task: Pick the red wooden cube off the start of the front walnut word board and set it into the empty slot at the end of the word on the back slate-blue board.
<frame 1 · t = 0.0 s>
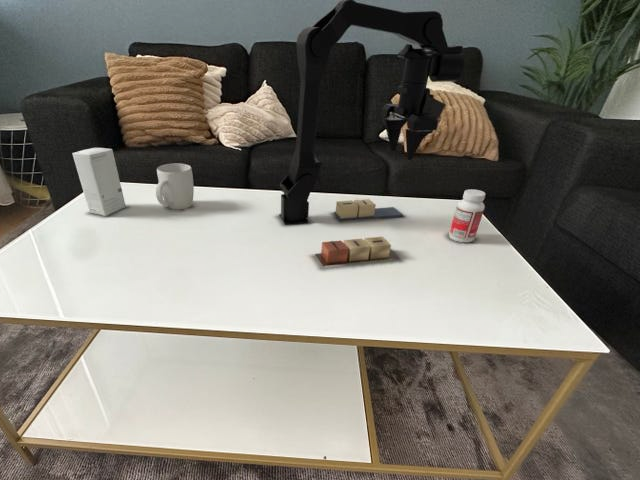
hand: (401, 155, 104), 15 cm above the table, tool pointing down, fingers open, 9 cm apart
far word: (367, 215, 111), on the table
pill bottle: (460, 238, 101), on the table
red wooden cube: (333, 258, 90), point 1 cm above the table, touching near word
cosmetic box: (108, 210, 111), on the table
near word: (356, 258, 91), on the table
mug: (175, 208, 113), on the table
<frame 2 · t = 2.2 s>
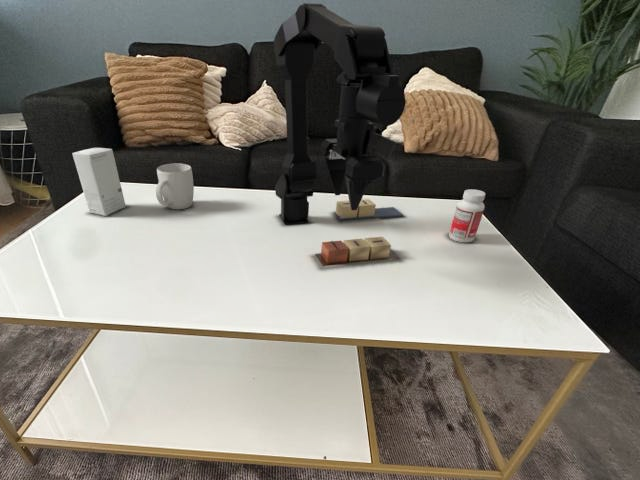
hand: (345, 202, 84), 12 cm above the table, tool pointing down, fingers open, 9 cm apart
nothing on the table moved.
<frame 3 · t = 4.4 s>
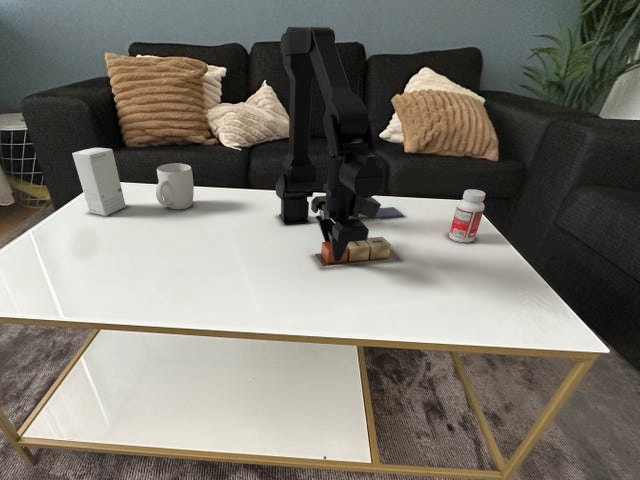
hand: (334, 255, 89), 1 cm above the table, tool pointing down, fingers closed on red wooden cube, 4 cm apart
red wooden cube: (333, 258, 90), point 1 cm above the table, touching gripper, near word
everything else where it was.
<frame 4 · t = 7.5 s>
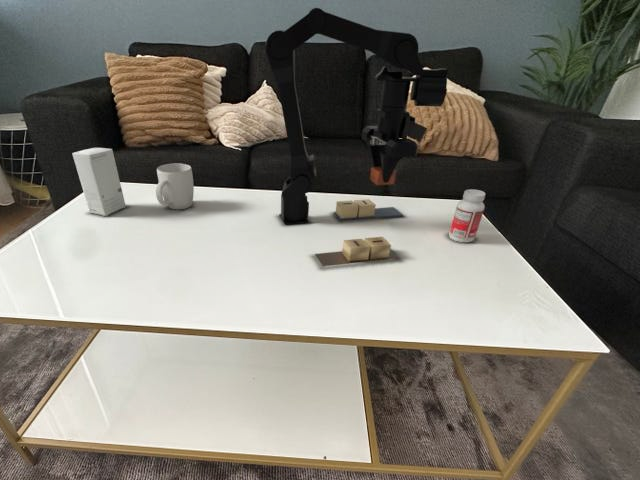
hand: (382, 179, 100), 11 cm above the table, tool pointing down, fingers closed on red wooden cube, 4 cm apart
red wooden cube: (381, 181, 100), point 11 cm above the table, touching gripper
everything else where it was.
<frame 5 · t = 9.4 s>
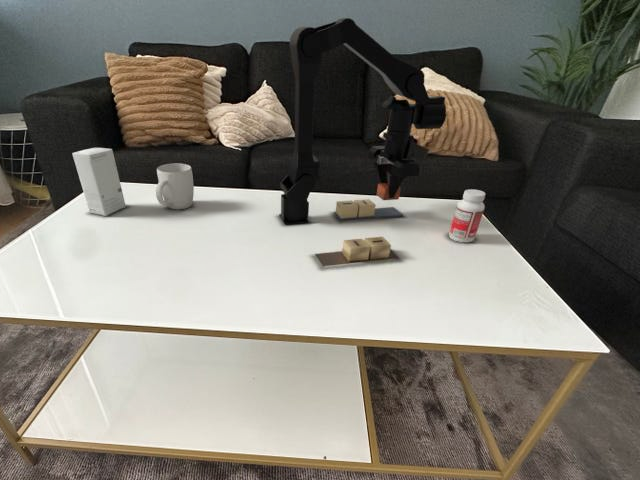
hand: (387, 194, 109), 5 cm above the table, tool pointing down, fingers closed on red wooden cube, 4 cm apart
red wooden cube: (387, 197, 110), point 5 cm above the table, touching gripper
everything else where it was.
when the fingers open (1 cm above the table, at t = 10.9 s): red wooden cube stays where it is, resting on far word.
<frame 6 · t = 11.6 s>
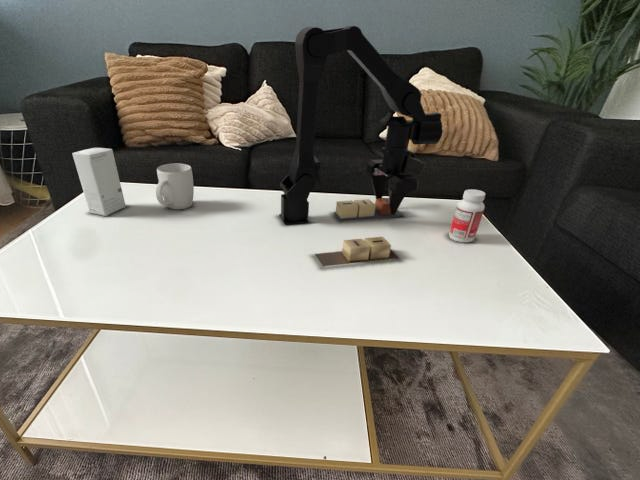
hand: (385, 207, 111), 2 cm above the table, tool pointing down, fingers open, 9 cm apart
red wooden cube: (384, 211, 112), point 1 cm above the table, touching far word
everything else where it was.
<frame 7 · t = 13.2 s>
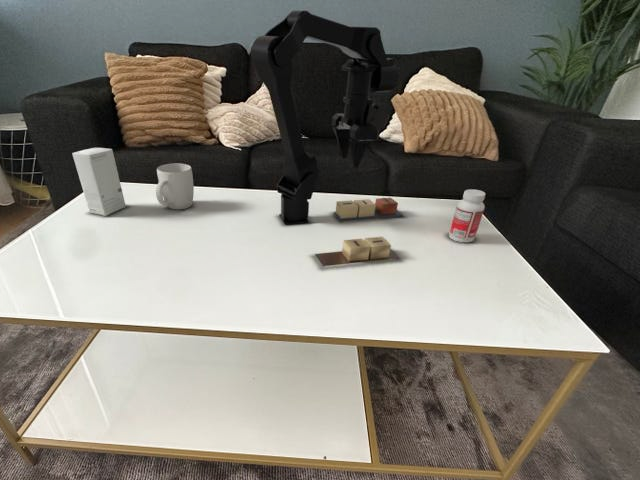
hand: (349, 162, 108), 12 cm above the table, tool pointing down, fingers open, 9 cm apart
nothing on the table moved.
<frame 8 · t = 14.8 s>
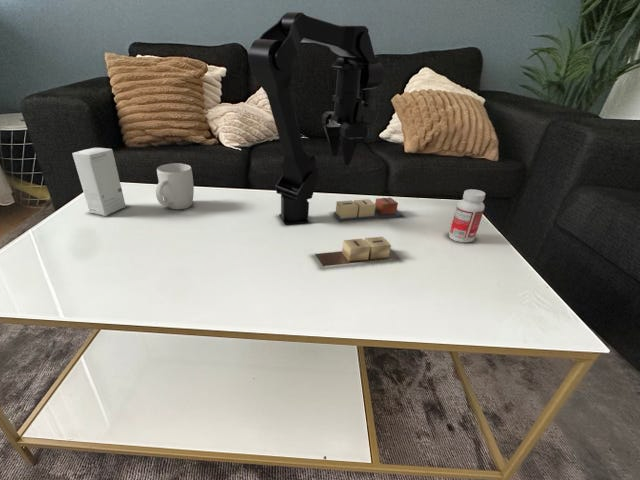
hand: (340, 160, 109), 12 cm above the table, tool pointing down, fingers open, 9 cm apart
nothing on the table moved.
at the end: red wooden cube 0.2 cm from the target spot on the far word, point 0.6 cm above the far word's base; red wooden cube tilted 0°; the gripper is holding nothing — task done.
